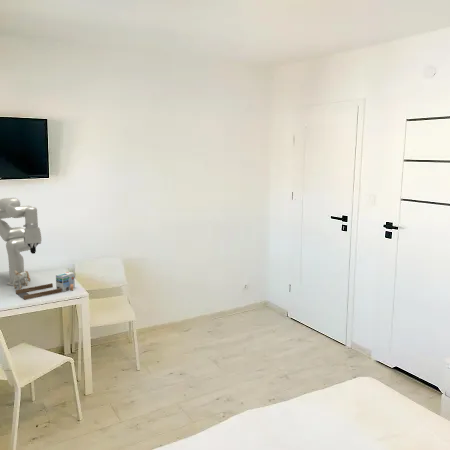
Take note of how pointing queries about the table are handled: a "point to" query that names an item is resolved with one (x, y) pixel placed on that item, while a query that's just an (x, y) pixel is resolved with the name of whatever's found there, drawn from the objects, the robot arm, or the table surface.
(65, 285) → the light bulb box
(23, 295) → the mat
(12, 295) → the table surface
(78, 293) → the table surface
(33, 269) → the table surface
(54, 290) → the guide channel
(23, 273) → the unicorn figurine
